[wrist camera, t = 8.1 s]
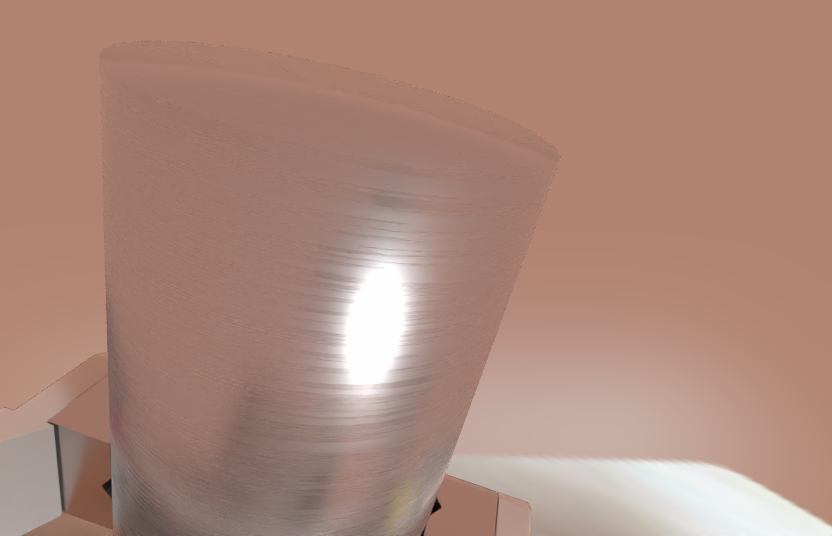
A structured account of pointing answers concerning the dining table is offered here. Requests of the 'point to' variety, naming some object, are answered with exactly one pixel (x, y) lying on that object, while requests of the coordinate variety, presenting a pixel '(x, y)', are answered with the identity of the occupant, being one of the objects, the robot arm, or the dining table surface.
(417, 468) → the steel rod
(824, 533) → the dining table surface
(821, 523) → the dining table surface
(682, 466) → the dining table surface
